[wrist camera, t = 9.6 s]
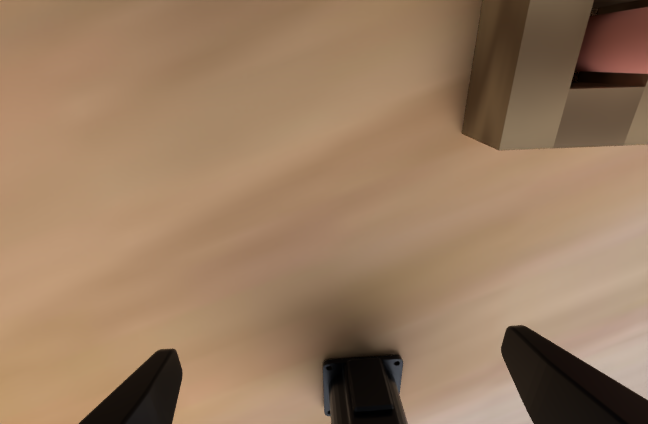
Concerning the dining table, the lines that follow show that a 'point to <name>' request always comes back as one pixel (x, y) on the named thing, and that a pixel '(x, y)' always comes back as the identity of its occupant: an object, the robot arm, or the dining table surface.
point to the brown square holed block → (549, 80)
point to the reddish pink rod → (616, 43)
